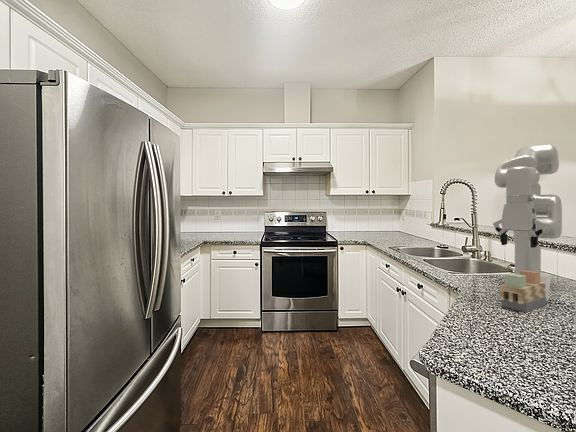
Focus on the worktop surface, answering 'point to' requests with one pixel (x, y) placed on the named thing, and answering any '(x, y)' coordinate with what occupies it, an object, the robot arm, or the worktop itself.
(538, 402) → the worktop surface
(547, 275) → the white cup
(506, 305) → the dock
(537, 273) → the salmon square box
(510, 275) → the pale green block
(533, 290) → the long beige board
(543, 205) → the robot arm
